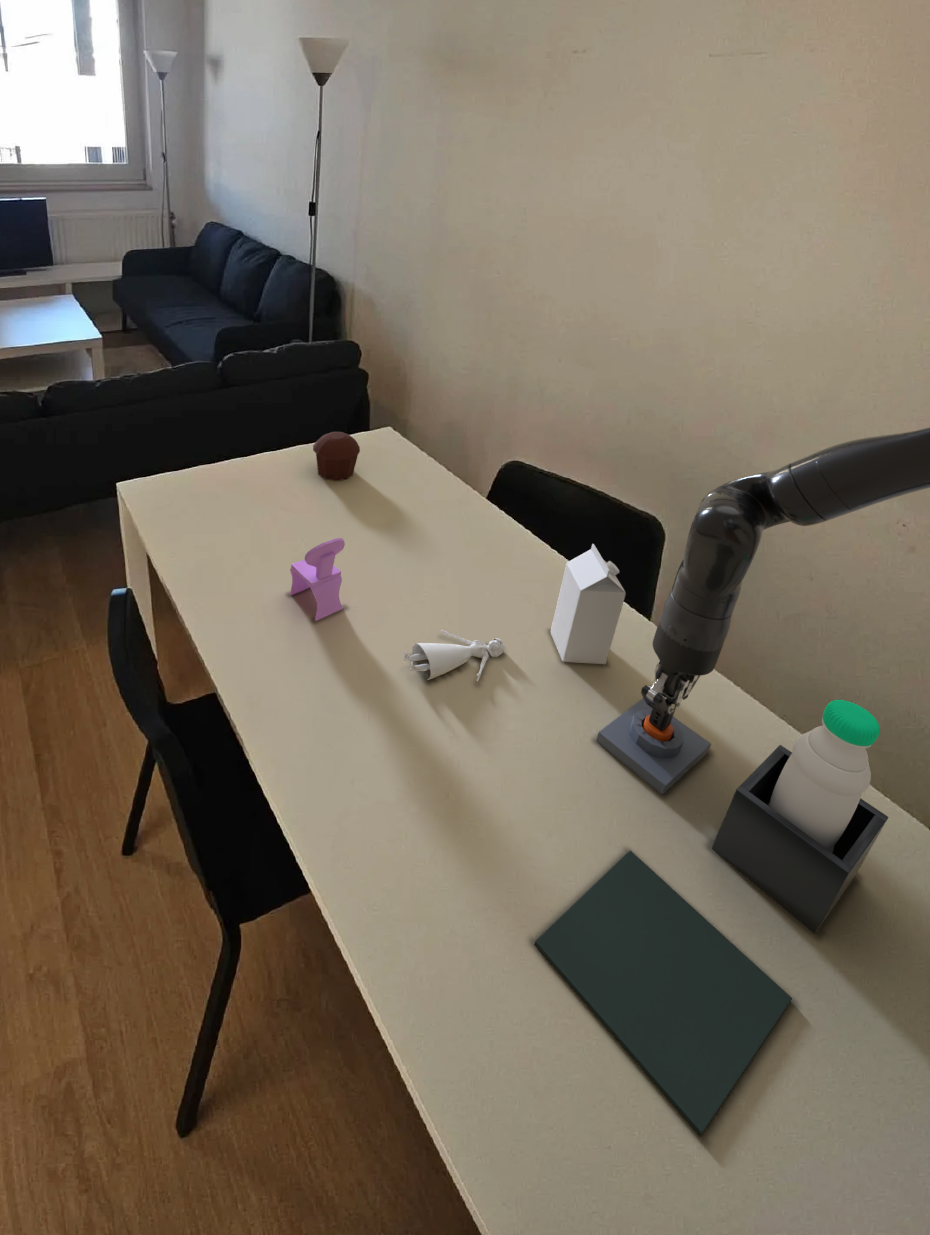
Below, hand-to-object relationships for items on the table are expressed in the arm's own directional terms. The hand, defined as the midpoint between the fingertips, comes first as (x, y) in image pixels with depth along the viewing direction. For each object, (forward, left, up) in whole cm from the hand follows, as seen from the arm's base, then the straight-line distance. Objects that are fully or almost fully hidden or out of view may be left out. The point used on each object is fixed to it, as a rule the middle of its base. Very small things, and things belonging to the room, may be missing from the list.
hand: (658, 724), depth 96 cm
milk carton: (-8, -18, -5) cm, 20 cm away
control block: (0, 0, -5) cm, 5 cm away
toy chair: (+23, -51, -5) cm, 56 cm away
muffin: (-9, -88, -5) cm, 89 cm away
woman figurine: (+12, -27, -5) cm, 30 cm away
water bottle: (+2, +18, -5) cm, 19 cm away
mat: (+26, +16, -5) cm, 31 cm away
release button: (0, 0, -2) cm, 2 cm away
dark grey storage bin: (+2, +18, -5) cm, 19 cm away
